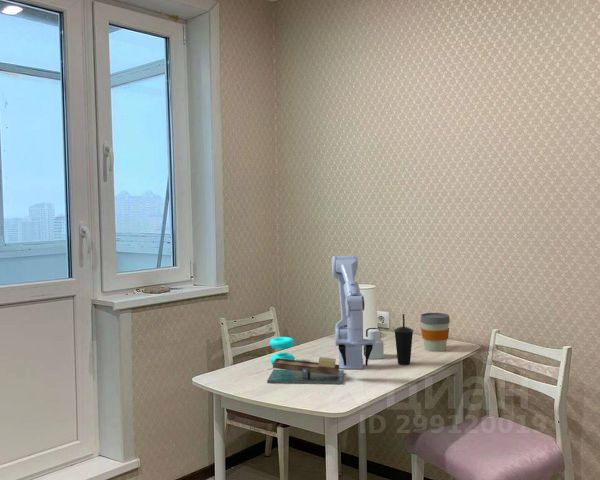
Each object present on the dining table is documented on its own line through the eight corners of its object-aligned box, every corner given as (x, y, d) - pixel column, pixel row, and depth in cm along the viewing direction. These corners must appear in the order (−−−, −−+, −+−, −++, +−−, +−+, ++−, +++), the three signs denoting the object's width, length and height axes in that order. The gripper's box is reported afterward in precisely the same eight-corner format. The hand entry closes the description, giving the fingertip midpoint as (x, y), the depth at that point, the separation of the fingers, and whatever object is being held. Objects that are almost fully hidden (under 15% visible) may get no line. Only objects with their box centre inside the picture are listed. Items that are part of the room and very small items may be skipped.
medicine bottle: (363, 355, 241) (363, 327, 241) (380, 354, 242) (379, 326, 241) (366, 359, 234) (366, 330, 234) (383, 358, 235) (383, 330, 234)
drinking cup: (409, 367, 221) (409, 316, 220) (391, 364, 226) (390, 314, 224) (416, 362, 228) (416, 313, 227) (398, 360, 232) (398, 311, 231)
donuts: (273, 335, 237) (296, 336, 235) (273, 359, 237) (296, 360, 235) (266, 341, 227) (291, 342, 225) (267, 366, 228) (291, 366, 226)
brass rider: (335, 366, 211) (335, 358, 211) (334, 370, 207) (335, 362, 206) (319, 364, 212) (319, 357, 212) (318, 368, 207) (318, 360, 207)
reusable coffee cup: (453, 347, 251) (453, 314, 250) (444, 354, 240) (444, 319, 239) (426, 344, 257) (426, 311, 257) (416, 350, 247) (416, 316, 246)
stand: (343, 372, 216) (343, 359, 215) (342, 384, 202) (341, 370, 201) (273, 372, 219) (273, 359, 219) (267, 383, 205) (266, 369, 205)
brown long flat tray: (338, 370, 212) (339, 364, 212) (338, 375, 206) (338, 369, 205) (275, 363, 215) (276, 357, 215) (272, 368, 208) (273, 362, 208)
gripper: (334, 330, 204) (335, 367, 205) (375, 330, 202) (375, 368, 203) (335, 326, 211) (336, 362, 212) (375, 326, 209) (375, 363, 210)
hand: (355, 365), depth 208 cm, fingers open, 7 cm apart
